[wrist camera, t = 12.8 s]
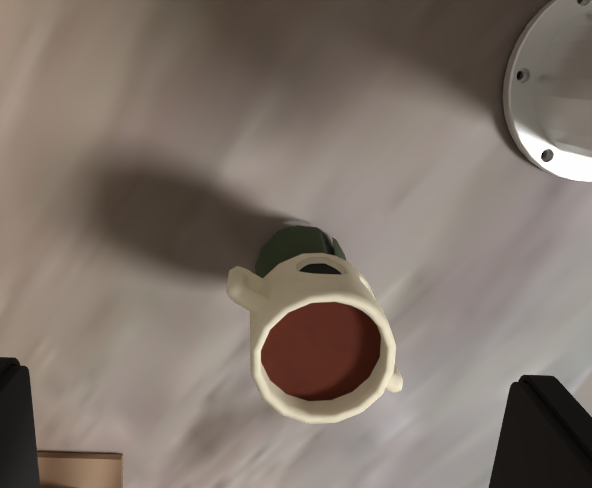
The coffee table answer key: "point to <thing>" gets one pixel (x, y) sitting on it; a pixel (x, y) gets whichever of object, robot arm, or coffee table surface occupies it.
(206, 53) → the coffee table surface
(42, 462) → the tan piece
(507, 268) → the coffee table surface
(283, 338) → the character mug
